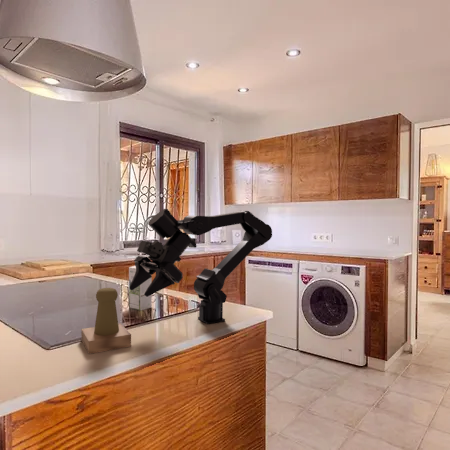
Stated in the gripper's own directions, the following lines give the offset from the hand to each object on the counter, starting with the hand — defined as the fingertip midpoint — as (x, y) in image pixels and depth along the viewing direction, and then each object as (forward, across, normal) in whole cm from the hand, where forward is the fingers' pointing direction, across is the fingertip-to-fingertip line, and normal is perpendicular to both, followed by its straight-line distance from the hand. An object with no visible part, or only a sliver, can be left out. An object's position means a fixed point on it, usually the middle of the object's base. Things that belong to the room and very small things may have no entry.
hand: (137, 292), depth 96 cm
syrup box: (0, -24, +18) cm, 30 cm away
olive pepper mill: (+12, +1, 0) cm, 13 cm away
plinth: (+15, +1, +2) cm, 15 cm away
